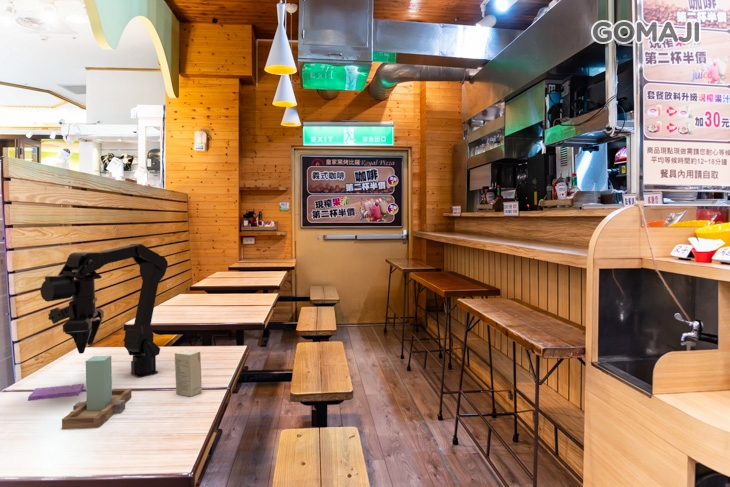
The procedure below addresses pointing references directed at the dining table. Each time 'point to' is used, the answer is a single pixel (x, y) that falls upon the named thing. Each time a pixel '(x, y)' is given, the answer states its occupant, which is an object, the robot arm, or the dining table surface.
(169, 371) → the dining table surface
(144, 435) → the dining table surface
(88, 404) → the grey-green tall block
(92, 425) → the wooden tray
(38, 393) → the sponges
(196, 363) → the skincare box
